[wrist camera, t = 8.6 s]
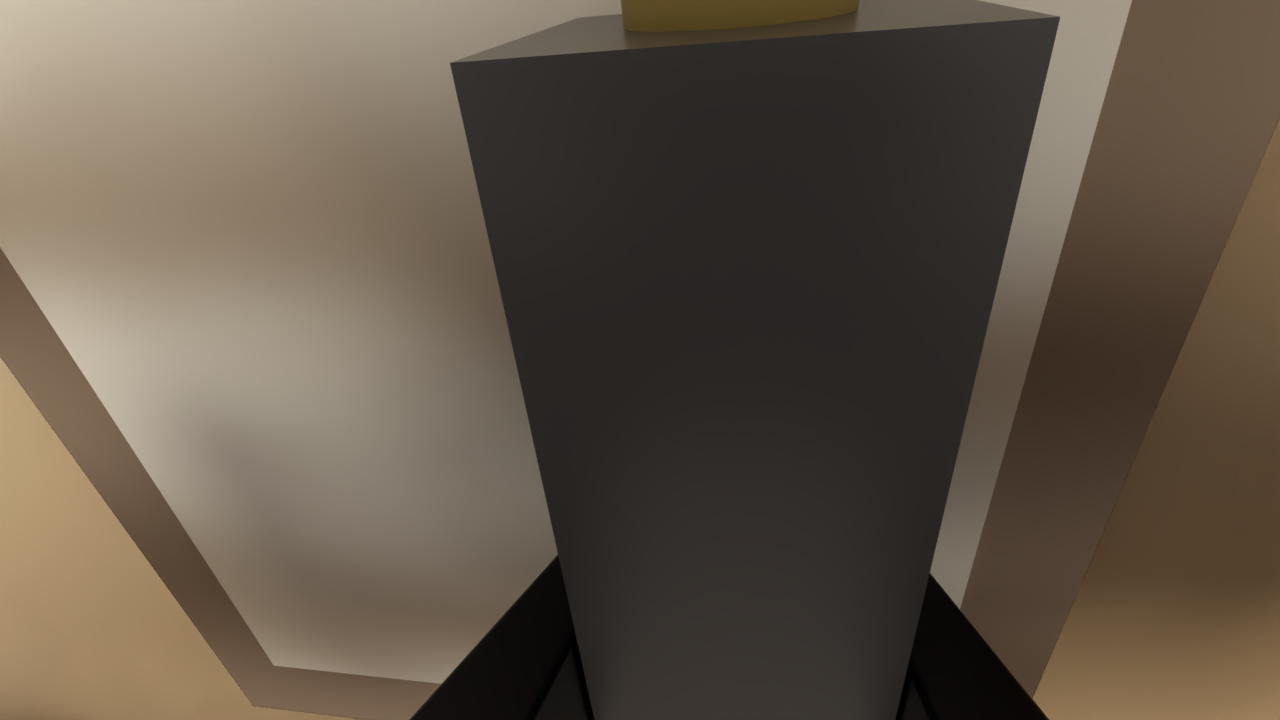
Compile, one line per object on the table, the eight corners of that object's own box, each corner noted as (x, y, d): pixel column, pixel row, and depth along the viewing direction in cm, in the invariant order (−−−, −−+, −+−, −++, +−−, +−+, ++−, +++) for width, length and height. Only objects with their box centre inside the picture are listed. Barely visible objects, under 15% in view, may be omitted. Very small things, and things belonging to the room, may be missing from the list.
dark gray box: (825, 738, 12) (845, 960, 9) (659, 720, 12) (633, 924, 10) (971, -350, 4) (1287, -799, 2) (537, -275, 5) (291, -539, 2)
